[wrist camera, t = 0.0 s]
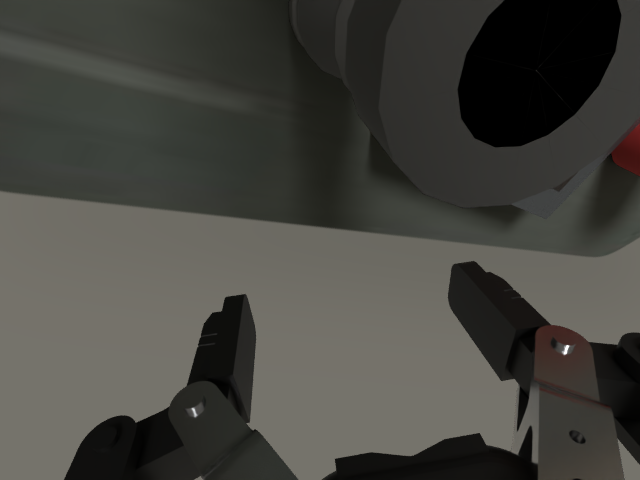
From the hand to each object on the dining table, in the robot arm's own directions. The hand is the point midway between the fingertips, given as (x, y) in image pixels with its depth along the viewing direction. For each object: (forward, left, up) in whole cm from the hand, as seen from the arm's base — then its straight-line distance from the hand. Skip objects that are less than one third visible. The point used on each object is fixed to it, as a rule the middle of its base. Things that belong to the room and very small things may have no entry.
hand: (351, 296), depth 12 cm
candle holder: (-8, -1, -23) cm, 24 cm away
